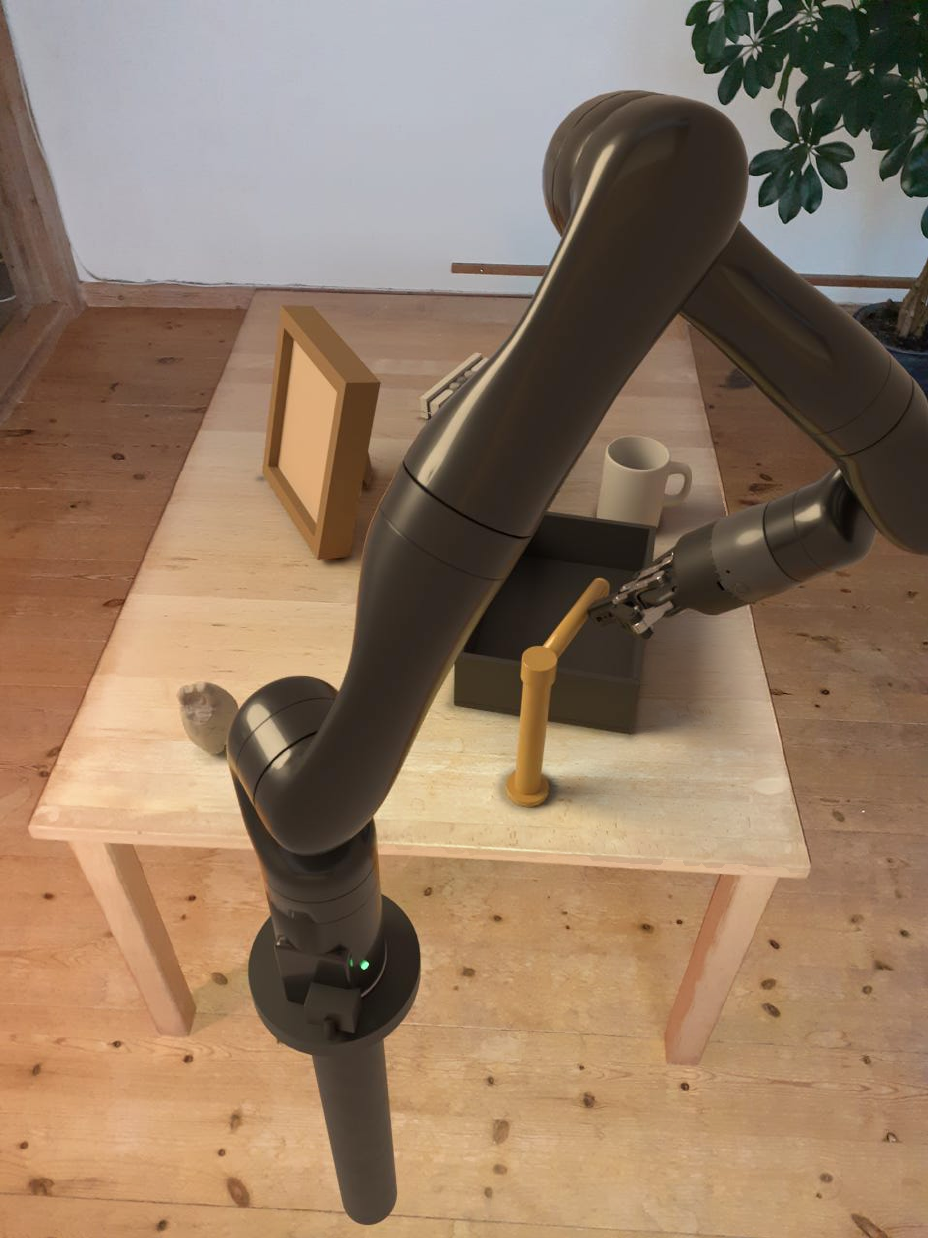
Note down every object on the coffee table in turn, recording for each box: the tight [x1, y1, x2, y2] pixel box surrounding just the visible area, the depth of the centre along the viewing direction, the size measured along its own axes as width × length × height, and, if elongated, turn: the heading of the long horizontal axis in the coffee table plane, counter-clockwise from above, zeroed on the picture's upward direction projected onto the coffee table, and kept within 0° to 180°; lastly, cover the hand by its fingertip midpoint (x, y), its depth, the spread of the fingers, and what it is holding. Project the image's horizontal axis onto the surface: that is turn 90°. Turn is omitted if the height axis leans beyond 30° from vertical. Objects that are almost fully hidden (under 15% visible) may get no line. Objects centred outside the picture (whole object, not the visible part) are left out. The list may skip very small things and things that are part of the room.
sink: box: [453, 510, 657, 735], centre depth 115 cm, size 28×20×8 cm
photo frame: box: [261, 304, 382, 561], centre depth 127 cm, size 15×22×25 cm
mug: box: [596, 435, 693, 530], centre depth 131 cm, size 12×8×11 cm
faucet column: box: [505, 683, 551, 808], centre depth 95 cm, size 4×4×17 cm
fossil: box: [176, 681, 240, 755], centre depth 101 cm, size 6×4×10 cm, turn 111°
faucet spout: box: [521, 578, 610, 689], centre depth 93 cm, size 16×3×5 cm, turn 149°
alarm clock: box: [419, 352, 490, 420], centre depth 155 cm, size 17×5×16 cm
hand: (595, 615), depth 94 cm, fingers closed
